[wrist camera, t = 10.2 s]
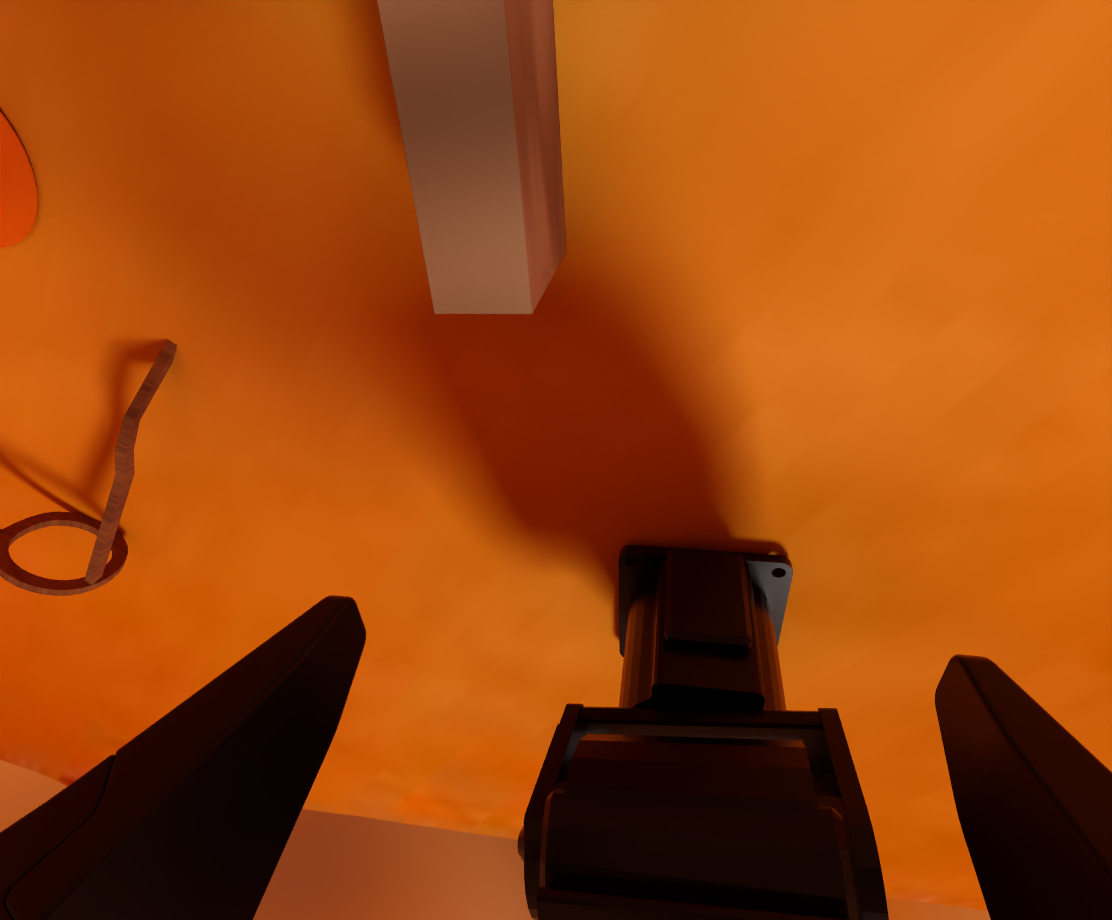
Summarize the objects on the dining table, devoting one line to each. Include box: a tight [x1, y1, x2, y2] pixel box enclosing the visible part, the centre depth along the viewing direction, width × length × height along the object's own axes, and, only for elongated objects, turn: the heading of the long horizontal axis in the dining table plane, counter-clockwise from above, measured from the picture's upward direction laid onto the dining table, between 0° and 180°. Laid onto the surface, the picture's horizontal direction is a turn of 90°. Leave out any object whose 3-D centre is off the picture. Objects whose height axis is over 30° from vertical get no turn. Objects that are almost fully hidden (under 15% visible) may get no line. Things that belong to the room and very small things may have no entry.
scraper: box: [377, 0, 566, 314], centre depth 14 cm, size 9×14×5 cm, turn 94°
